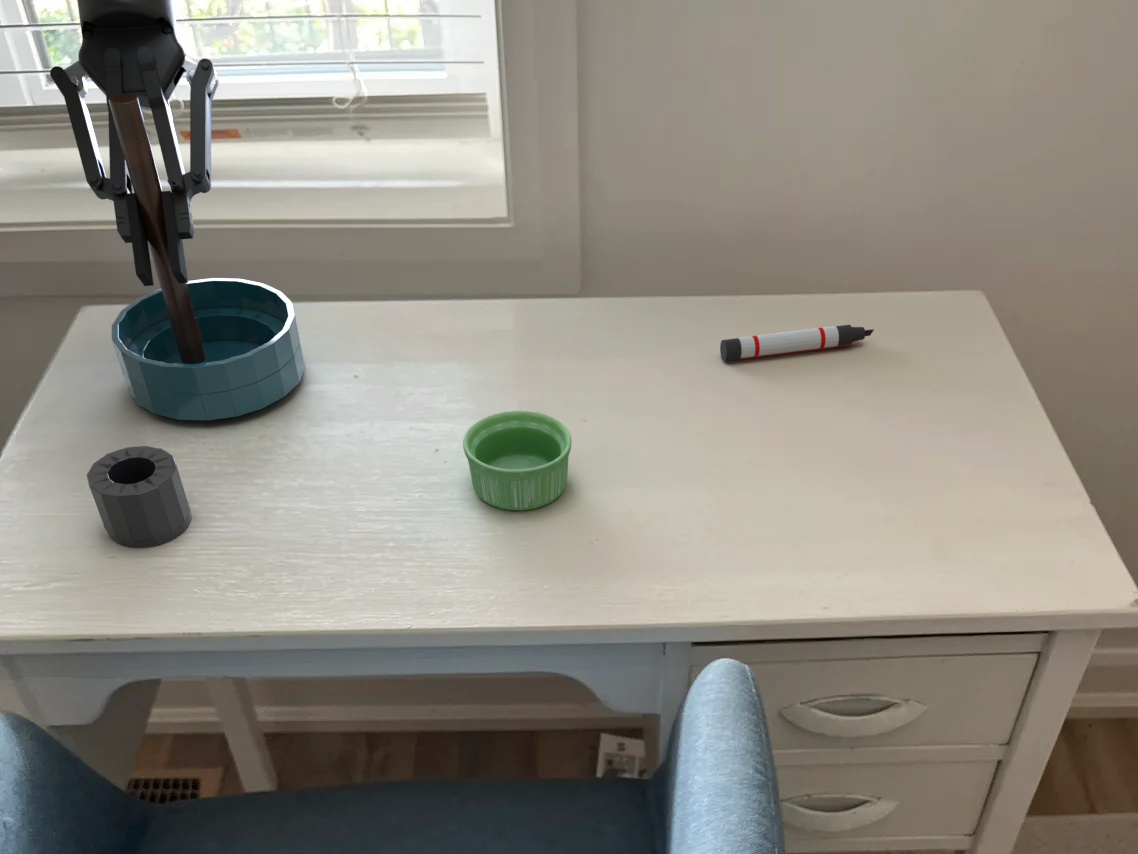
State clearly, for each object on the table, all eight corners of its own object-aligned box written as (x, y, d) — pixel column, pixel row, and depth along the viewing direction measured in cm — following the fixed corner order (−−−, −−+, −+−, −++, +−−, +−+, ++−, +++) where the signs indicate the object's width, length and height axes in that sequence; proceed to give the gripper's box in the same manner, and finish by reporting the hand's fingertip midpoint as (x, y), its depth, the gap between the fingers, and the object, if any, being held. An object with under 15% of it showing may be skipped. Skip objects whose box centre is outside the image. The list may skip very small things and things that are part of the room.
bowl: (107, 425, 108) (86, 364, 103) (160, 334, 118) (143, 275, 114) (284, 431, 107) (271, 369, 103) (321, 339, 118) (310, 280, 113)
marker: (725, 365, 114) (727, 345, 113) (719, 354, 116) (721, 335, 114) (875, 346, 117) (878, 327, 115) (867, 336, 118) (871, 317, 116)
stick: (178, 365, 109) (104, 103, 92) (185, 352, 110) (113, 92, 94) (202, 365, 109) (132, 103, 92) (208, 353, 110) (141, 93, 94)
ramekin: (507, 443, 106) (504, 398, 102) (592, 475, 103) (592, 430, 99) (445, 493, 101) (440, 448, 98) (533, 529, 98) (531, 483, 94)
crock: (94, 546, 96) (74, 494, 92) (122, 495, 101) (103, 444, 97) (177, 549, 96) (161, 497, 92) (201, 498, 100) (186, 446, 97)
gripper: (226, 8, 103) (262, 287, 104) (43, 17, 101) (82, 301, 103) (208, -47, 95) (247, 255, 97) (11, -38, 94) (53, 269, 95)
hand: (162, 278), depth 100 cm, fingers closed on stick, 2 cm apart
